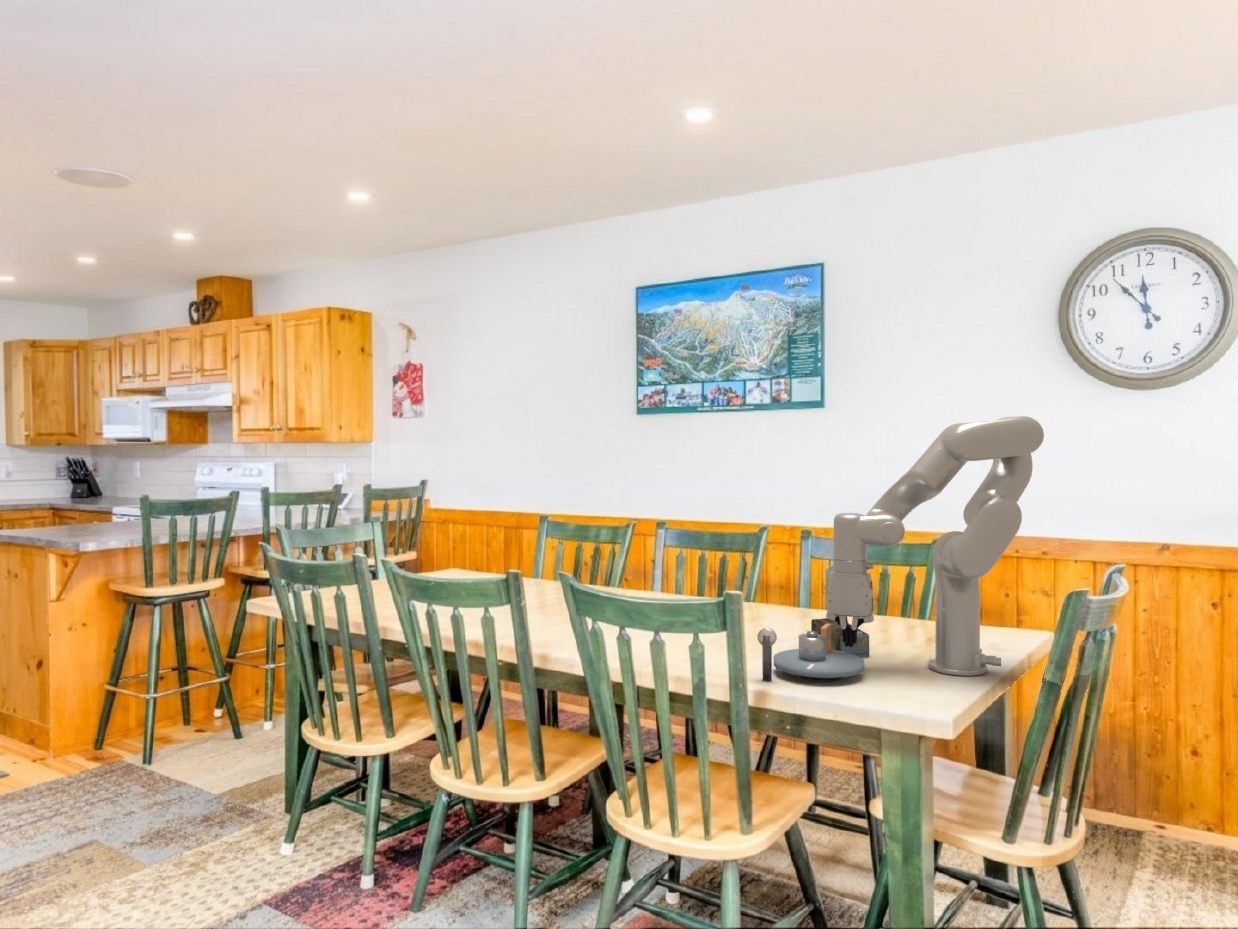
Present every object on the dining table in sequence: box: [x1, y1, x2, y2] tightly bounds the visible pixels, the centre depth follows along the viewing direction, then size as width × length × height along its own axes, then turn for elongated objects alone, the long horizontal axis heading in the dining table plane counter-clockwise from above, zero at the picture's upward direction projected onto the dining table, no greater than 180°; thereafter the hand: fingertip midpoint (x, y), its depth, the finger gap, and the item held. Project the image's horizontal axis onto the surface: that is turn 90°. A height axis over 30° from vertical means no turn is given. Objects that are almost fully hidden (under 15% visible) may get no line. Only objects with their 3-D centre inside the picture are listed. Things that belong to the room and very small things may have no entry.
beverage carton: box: [810, 617, 871, 659], centre depth 219 cm, size 8×19×7 cm, turn 9°
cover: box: [798, 630, 826, 662], centre depth 196 cm, size 6×6×6 cm
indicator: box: [757, 627, 778, 682], centre depth 190 cm, size 4×2×12 cm, turn 64°
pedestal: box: [792, 674, 845, 682], centre depth 195 cm, size 12×12×2 cm
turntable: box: [772, 624, 865, 678], centre depth 196 cm, size 20×20×8 cm
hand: (849, 645), depth 200 cm, fingers closed
